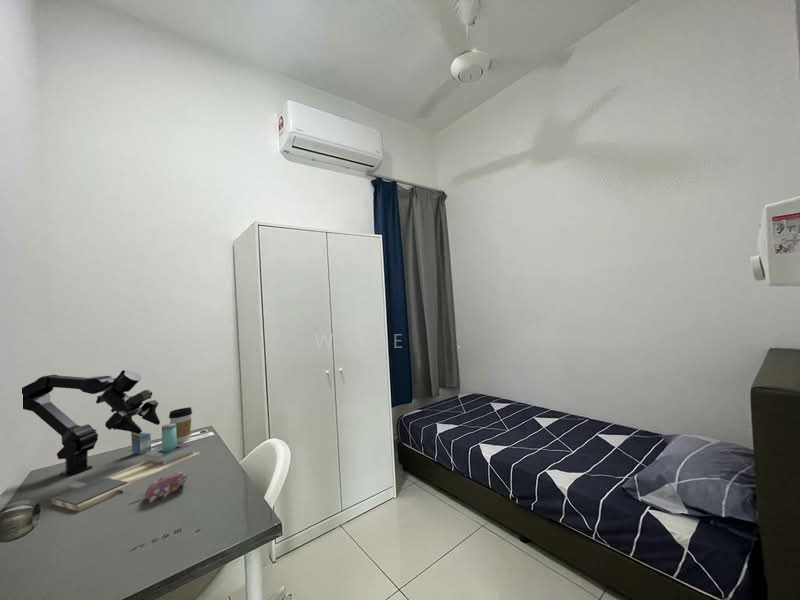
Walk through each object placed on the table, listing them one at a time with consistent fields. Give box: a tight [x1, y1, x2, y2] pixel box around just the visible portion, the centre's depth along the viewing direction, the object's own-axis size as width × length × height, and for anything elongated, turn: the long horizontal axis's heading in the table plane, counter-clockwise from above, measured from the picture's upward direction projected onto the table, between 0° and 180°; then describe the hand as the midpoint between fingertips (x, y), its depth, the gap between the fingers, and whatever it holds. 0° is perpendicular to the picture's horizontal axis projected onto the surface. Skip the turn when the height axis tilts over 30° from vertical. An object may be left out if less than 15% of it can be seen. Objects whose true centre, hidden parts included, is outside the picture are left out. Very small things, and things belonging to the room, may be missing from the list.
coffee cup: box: [168, 406, 193, 443], centre depth 134 cm, size 8×8×15 cm
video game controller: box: [144, 471, 188, 500], centre depth 92 cm, size 10×5×7 cm, turn 143°
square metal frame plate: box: [143, 442, 195, 466], centre depth 116 cm, size 11×11×3 cm
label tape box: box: [130, 430, 152, 455], centre depth 125 cm, size 9×4×12 cm, turn 59°
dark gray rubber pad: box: [53, 477, 127, 505], centre depth 94 cm, size 12×12×1 cm
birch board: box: [51, 451, 200, 513], centre depth 104 cm, size 15×35×2 cm, turn 159°
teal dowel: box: [161, 423, 177, 453], centre depth 116 cm, size 4×4×12 cm
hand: (150, 427), depth 116 cm, fingers open, 9 cm apart
